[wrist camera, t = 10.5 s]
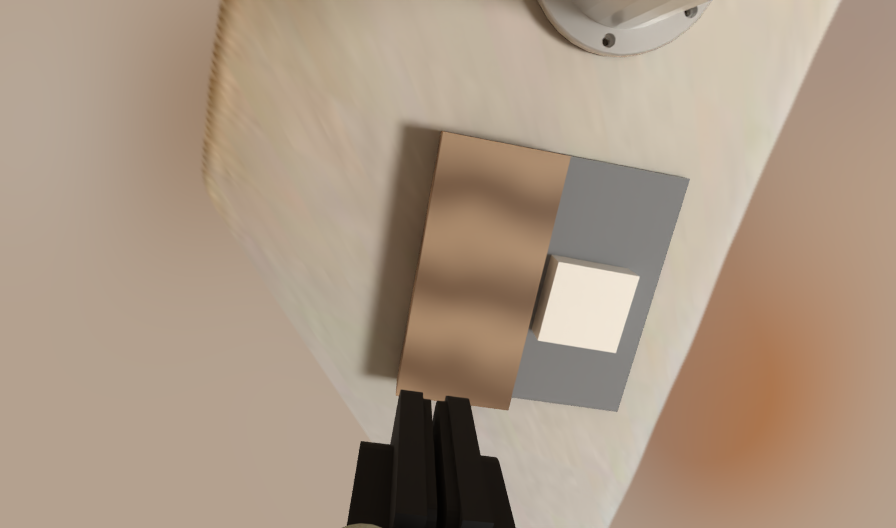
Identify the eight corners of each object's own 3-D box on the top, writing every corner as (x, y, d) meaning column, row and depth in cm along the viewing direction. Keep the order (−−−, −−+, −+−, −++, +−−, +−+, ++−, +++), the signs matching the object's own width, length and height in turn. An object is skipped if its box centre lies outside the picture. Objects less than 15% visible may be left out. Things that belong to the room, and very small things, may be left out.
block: (551, 254, 37) (558, 261, 35) (628, 268, 37) (640, 276, 36) (531, 329, 38) (537, 340, 36) (605, 341, 39) (615, 353, 37)
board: (441, 130, 34) (443, 131, 32) (560, 153, 35) (571, 156, 33) (397, 378, 39) (395, 395, 37) (502, 393, 40) (508, 410, 38)
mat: (563, 154, 35) (565, 154, 35) (686, 178, 36) (689, 179, 36) (505, 393, 40) (506, 396, 40) (614, 408, 41) (617, 411, 41)
